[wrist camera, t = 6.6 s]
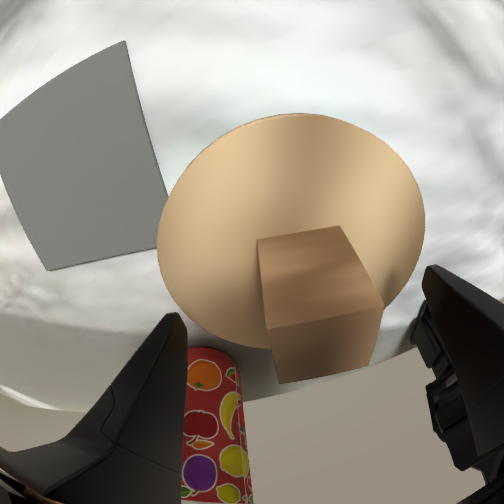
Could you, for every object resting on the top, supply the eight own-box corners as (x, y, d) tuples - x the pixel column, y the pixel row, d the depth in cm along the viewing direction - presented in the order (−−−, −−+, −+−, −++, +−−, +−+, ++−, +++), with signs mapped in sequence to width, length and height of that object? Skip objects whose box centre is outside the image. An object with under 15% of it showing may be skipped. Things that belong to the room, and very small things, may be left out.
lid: (418, 108, 8) (518, 145, 4) (395, 311, 14) (428, 382, 10) (125, 152, 8) (43, 217, 4) (206, 346, 15) (201, 427, 11)
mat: (125, 41, 9) (123, 40, 9) (183, 239, 16) (182, 242, 16) (-10, 130, 10) (-13, 131, 10) (48, 268, 17) (47, 271, 16)
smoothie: (203, 389, 27) (198, 558, 10) (141, 354, 23) (113, 555, 6) (266, 366, 24) (282, 569, 8) (204, 322, 20) (194, 592, 4)
